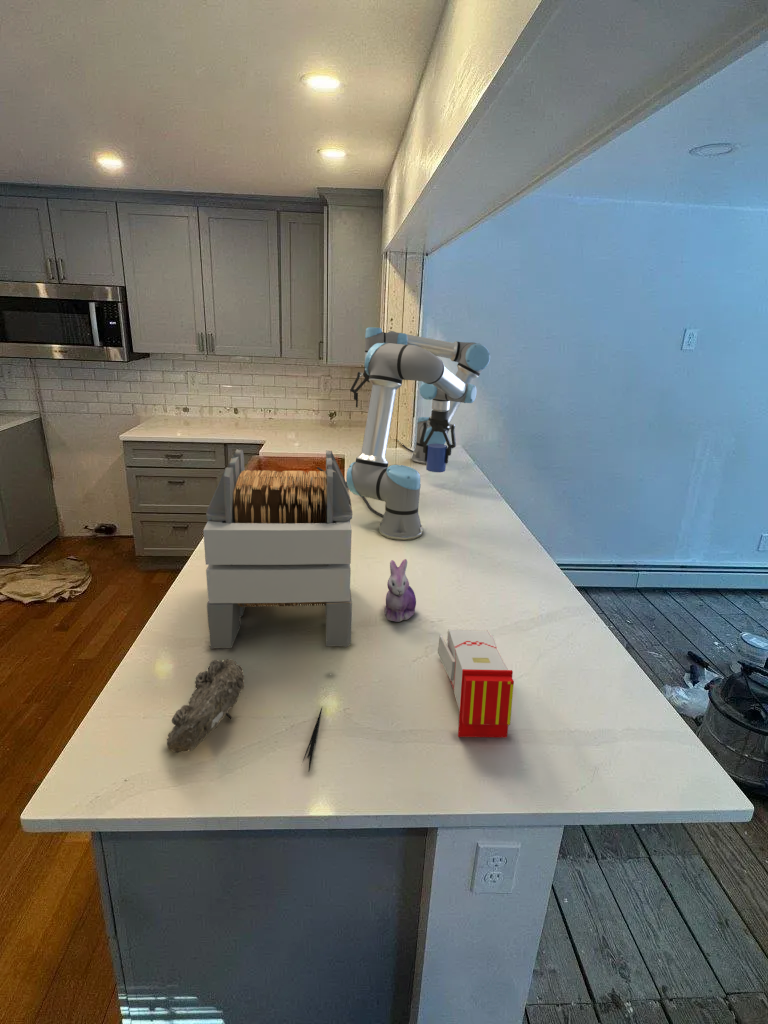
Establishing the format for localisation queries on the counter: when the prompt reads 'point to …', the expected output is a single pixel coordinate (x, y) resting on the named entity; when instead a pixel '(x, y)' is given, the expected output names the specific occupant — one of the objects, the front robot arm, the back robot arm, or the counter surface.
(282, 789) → the counter surface
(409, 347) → the front robot arm
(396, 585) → the figurine
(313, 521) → the gray record crate
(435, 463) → the can
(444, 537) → the counter surface
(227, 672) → the fossil
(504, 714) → the toy
